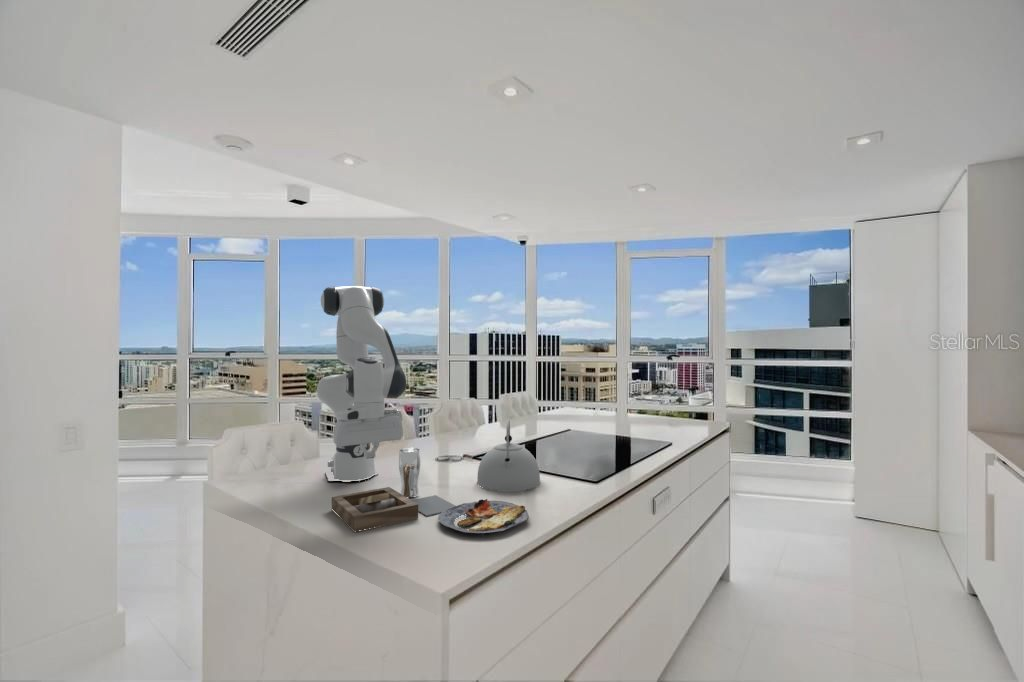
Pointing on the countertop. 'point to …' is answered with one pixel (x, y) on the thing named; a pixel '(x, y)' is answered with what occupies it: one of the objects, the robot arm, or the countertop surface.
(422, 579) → the countertop surface
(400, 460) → the drinking glass
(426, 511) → the rubber mat
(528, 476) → the kettle
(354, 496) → the pocket board
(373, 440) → the robot arm
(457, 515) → the food plate
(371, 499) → the maple bar
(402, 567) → the countertop surface
